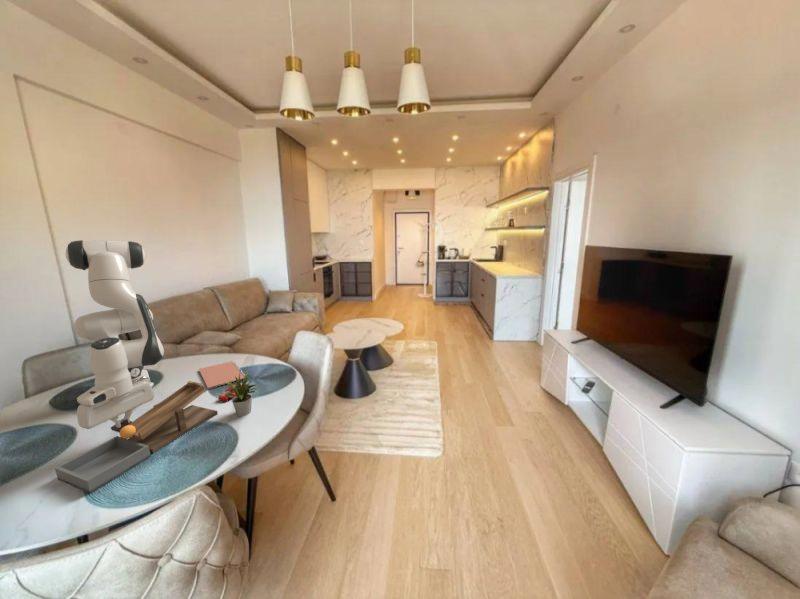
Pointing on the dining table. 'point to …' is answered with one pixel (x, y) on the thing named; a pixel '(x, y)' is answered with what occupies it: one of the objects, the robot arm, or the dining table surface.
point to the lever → (164, 410)
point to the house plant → (241, 395)
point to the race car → (223, 399)
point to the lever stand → (176, 426)
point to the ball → (127, 431)
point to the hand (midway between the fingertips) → (123, 425)
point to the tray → (102, 464)
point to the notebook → (221, 374)
